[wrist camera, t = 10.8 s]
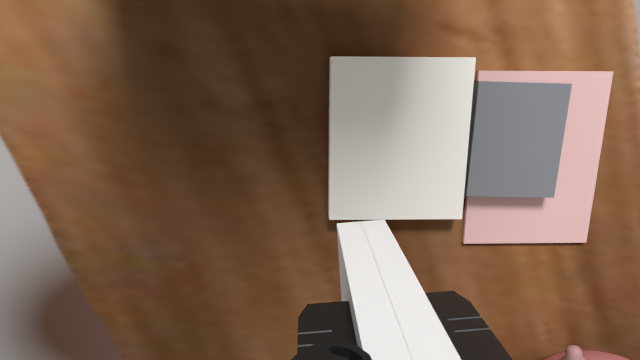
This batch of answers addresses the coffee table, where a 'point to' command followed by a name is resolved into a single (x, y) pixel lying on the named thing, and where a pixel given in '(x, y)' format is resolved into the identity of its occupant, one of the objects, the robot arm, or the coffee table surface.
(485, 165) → the coaster
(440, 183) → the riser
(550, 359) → the balloon
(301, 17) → the coffee table surface
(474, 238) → the felt mat
